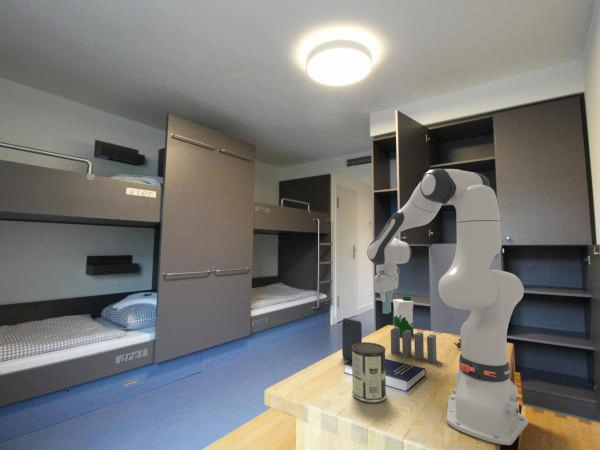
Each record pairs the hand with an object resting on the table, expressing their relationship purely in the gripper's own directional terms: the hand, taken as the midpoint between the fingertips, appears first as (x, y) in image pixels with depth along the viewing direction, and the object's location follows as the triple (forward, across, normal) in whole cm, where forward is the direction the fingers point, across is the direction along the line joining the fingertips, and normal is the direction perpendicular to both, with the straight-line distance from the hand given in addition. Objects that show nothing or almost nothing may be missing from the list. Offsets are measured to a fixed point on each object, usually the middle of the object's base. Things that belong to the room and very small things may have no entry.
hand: (386, 300), depth 132 cm
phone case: (+22, -21, +7) cm, 31 cm away
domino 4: (+21, -2, -14) cm, 26 cm away
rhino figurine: (+22, +20, -30) cm, 42 cm away
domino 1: (+5, 0, 0) cm, 5 cm away
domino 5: (+21, -2, -19) cm, 29 cm away
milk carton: (+22, +27, +2) cm, 35 cm away
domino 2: (+21, -1, -4) cm, 22 cm away
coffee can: (+21, -42, -10) cm, 49 cm away
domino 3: (+21, -1, -9) cm, 23 cm away
